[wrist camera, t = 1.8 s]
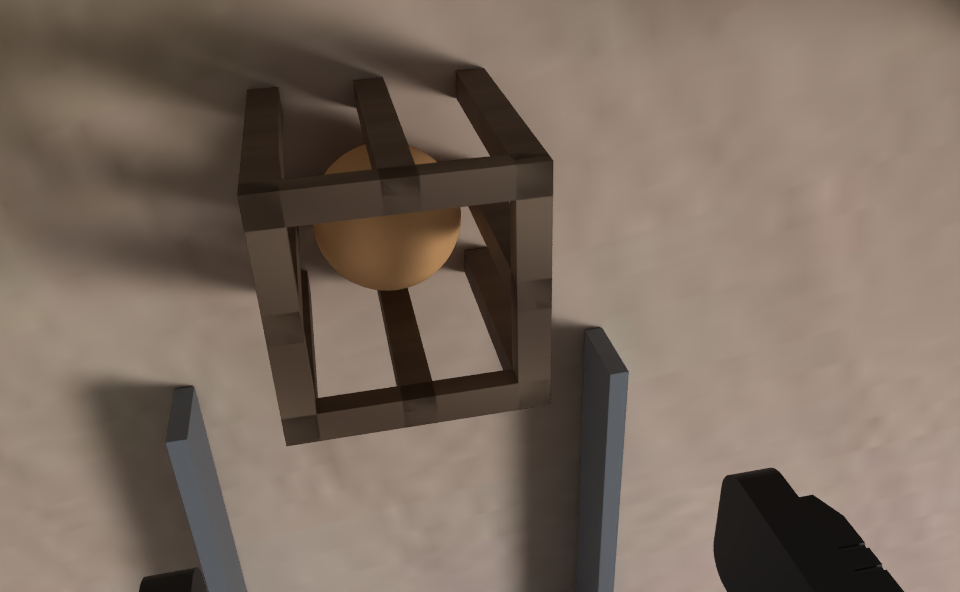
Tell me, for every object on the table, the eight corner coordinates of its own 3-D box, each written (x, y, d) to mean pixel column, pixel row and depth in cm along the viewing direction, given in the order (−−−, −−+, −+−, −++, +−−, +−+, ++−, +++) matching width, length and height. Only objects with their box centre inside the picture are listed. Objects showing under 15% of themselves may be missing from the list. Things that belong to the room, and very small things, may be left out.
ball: (299, 128, 23) (303, 185, 20) (443, 114, 24) (470, 167, 21) (318, 257, 25) (325, 328, 22) (450, 240, 26) (476, 307, 23)
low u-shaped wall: (174, 389, 27) (165, 442, 25) (601, 327, 29) (628, 371, 27) (259, 701, 35) (258, 762, 33) (587, 635, 37) (606, 688, 35)
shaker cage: (247, 89, 23) (237, 195, 17) (483, 68, 24) (553, 160, 18) (283, 296, 26) (286, 446, 20) (490, 269, 27) (550, 404, 21)
